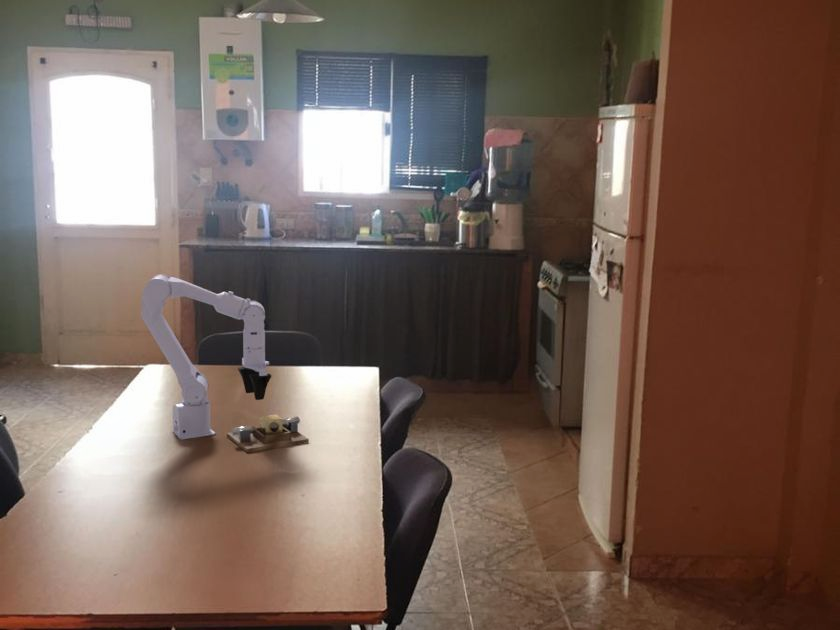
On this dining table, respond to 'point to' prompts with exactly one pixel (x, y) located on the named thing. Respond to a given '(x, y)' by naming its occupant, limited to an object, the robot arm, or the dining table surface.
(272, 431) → the block
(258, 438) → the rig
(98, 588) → the dining table surface
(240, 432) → the shaft left
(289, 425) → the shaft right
